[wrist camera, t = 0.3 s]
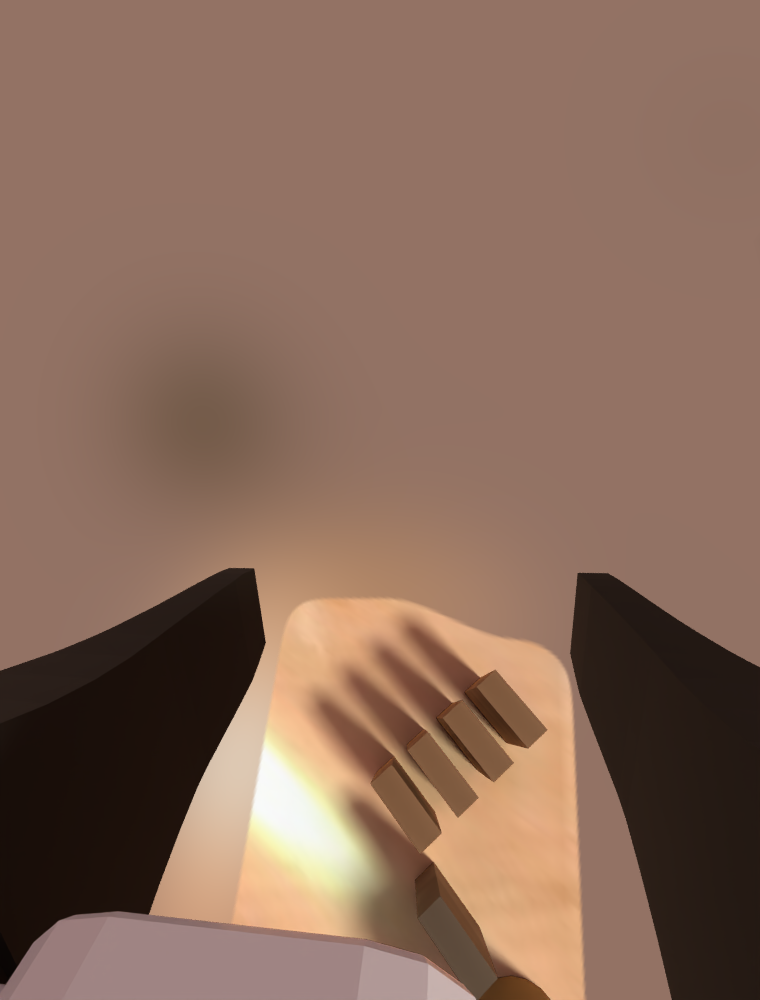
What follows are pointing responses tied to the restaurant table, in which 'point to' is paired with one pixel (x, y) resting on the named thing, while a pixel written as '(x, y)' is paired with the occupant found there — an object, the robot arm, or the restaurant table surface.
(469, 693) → the tile
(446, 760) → the tile
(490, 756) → the tile
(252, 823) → the restaurant table surface
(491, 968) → the tile
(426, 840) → the tile
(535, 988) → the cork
